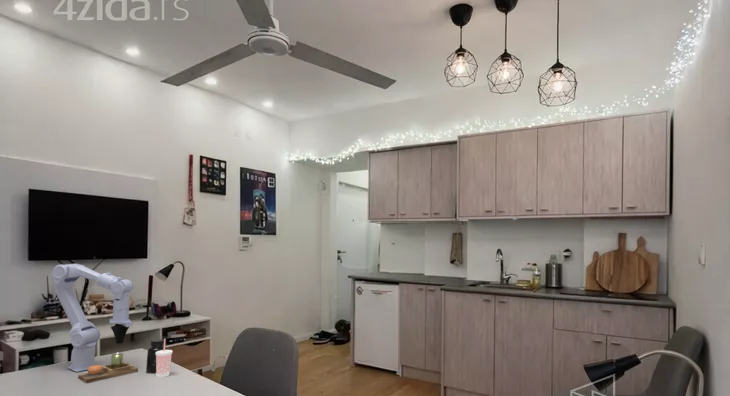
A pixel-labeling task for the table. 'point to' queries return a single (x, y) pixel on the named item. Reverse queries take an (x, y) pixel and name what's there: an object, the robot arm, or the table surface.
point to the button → (94, 369)
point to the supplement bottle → (153, 354)
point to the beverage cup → (163, 362)
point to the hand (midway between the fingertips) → (119, 343)
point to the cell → (116, 360)
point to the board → (108, 373)
